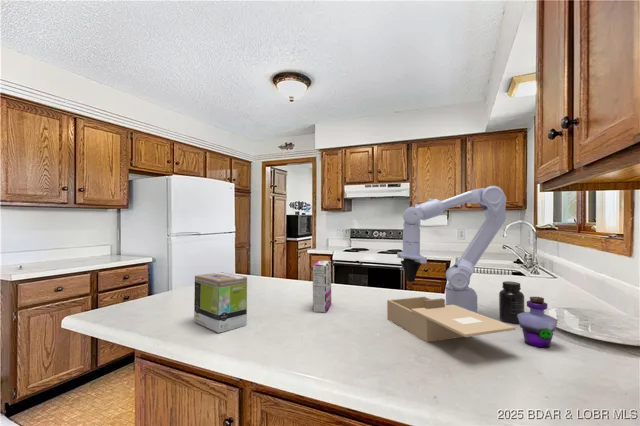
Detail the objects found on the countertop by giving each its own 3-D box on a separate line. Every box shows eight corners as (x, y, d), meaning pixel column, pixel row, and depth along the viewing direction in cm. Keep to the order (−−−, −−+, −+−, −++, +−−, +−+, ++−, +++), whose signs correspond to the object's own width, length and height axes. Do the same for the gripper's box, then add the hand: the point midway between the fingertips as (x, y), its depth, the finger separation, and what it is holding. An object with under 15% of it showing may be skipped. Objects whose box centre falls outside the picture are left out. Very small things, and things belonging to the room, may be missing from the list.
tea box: (248, 325, 95) (248, 276, 96) (217, 334, 88) (217, 281, 88) (222, 315, 106) (222, 270, 106) (192, 322, 98) (193, 274, 99)
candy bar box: (318, 303, 120) (318, 260, 120) (331, 304, 118) (331, 260, 119) (311, 312, 109) (311, 264, 109) (326, 313, 108) (326, 264, 108)
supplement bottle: (494, 317, 102) (494, 280, 103) (514, 317, 103) (513, 280, 103) (508, 324, 96) (508, 285, 96) (530, 324, 96) (529, 284, 96)
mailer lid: (453, 306, 93) (453, 297, 93) (515, 329, 74) (515, 317, 74) (411, 311, 89) (411, 301, 89) (465, 337, 69) (465, 324, 69)
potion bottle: (540, 353, 76) (539, 302, 76) (509, 339, 84) (509, 294, 84) (567, 349, 78) (566, 300, 78) (535, 336, 86) (534, 292, 86)
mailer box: (424, 314, 106) (424, 296, 106) (470, 335, 87) (469, 313, 87) (387, 318, 101) (387, 300, 101) (426, 342, 82) (426, 318, 82)
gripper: (390, 240, 115) (389, 277, 115) (413, 244, 101) (413, 286, 101) (406, 240, 117) (406, 277, 117) (432, 243, 103) (431, 285, 103)
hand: (410, 281), depth 109 cm, fingers closed
